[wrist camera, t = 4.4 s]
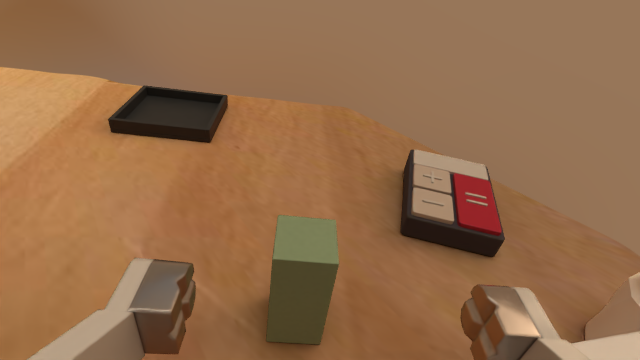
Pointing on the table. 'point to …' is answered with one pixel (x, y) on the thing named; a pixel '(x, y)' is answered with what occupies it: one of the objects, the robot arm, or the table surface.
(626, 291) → the vase
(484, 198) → the calculator
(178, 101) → the black tray
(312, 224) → the tall green rectangular block
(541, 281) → the table surface
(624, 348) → the ink box
